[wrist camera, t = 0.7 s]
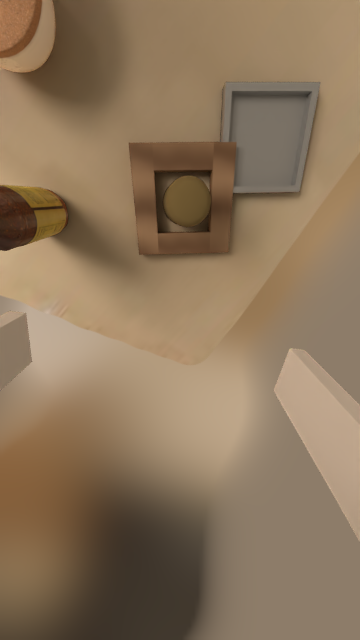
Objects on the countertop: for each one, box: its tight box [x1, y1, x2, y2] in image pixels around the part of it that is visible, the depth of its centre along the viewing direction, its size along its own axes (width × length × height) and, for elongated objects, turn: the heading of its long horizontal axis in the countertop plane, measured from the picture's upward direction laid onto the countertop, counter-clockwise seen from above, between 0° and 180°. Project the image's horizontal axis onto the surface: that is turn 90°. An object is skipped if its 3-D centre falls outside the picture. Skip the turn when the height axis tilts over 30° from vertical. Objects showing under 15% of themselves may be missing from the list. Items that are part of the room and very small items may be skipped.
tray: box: [220, 82, 320, 193], centre depth 31 cm, size 12×12×2 cm
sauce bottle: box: [0, 185, 68, 251], centre depth 25 cm, size 7×6×20 cm
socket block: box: [129, 142, 237, 255], centre depth 33 cm, size 14×14×2 cm
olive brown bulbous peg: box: [163, 175, 211, 227], centre depth 29 cm, size 6×6×11 cm
